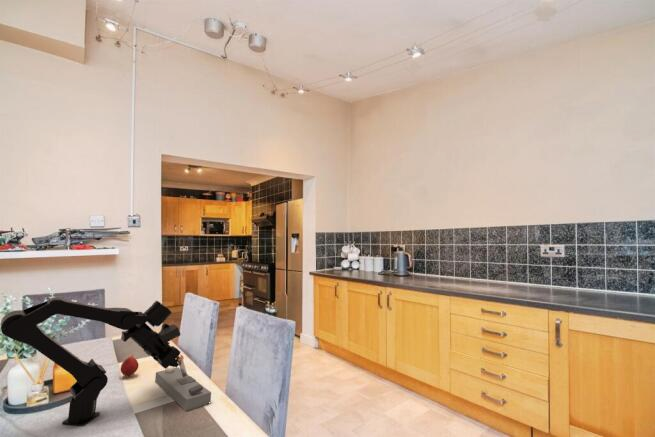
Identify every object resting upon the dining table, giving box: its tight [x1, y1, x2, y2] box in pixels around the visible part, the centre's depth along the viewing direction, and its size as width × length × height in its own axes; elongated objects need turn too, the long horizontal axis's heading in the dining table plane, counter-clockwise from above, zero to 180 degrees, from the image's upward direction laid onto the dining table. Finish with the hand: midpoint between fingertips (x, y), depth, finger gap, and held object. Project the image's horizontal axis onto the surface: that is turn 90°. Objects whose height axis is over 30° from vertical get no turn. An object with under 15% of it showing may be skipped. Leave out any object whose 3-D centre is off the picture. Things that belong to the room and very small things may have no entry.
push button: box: [164, 366, 175, 373], centre depth 123 cm, size 3×3×2 cm
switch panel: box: [154, 366, 212, 412], centre depth 115 cm, size 8×28×4 cm, turn 46°
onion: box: [120, 354, 139, 378], centre depth 125 cm, size 6×6×8 cm
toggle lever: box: [176, 354, 188, 377], centre depth 115 cm, size 2×2×8 cm
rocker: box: [189, 383, 204, 395], centre depth 107 cm, size 4×2×1 cm, turn 136°
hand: (177, 365), depth 114 cm, fingers closed, pressing on toggle lever
